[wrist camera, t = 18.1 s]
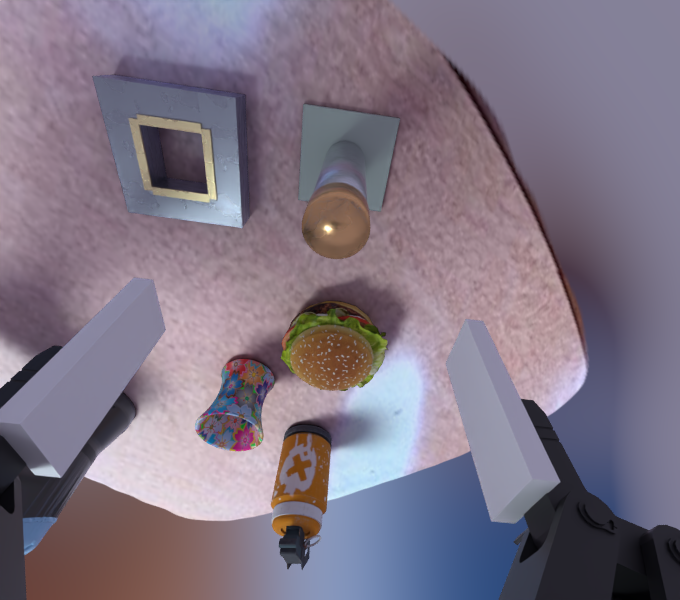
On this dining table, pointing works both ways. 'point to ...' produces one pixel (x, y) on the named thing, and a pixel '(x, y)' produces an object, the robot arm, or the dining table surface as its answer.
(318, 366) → the food
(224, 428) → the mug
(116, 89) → the plate
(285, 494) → the canister
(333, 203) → the key peg
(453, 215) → the dining table surface
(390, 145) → the rest pad
